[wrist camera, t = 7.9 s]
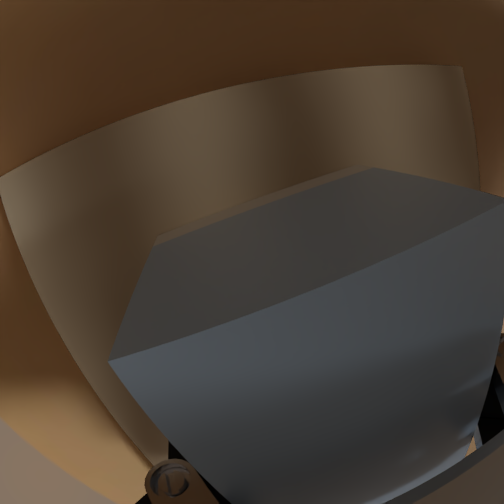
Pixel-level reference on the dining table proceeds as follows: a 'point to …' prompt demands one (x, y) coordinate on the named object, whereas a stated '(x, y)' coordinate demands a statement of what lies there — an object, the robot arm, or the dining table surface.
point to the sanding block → (321, 336)
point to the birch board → (212, 186)
